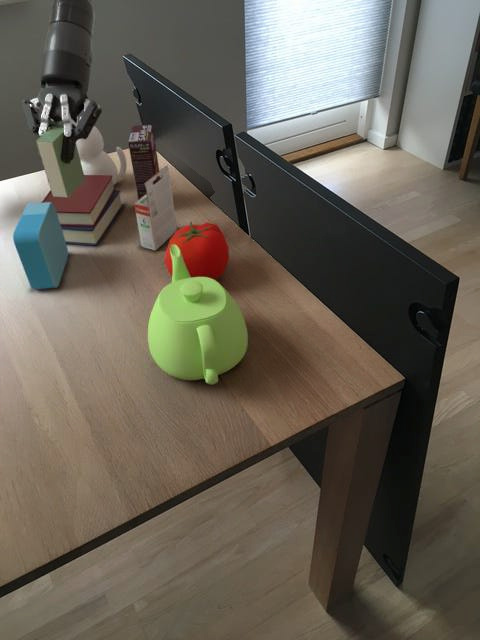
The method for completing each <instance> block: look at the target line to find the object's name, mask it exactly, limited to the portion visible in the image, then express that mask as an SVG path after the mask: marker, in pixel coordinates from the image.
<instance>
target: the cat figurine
mask: <svg viewBox="0 0 480 640" xmlns="http://www.w3.org/2000/svg"><path fill="white" fill-rule="evenodd" d="M81 117H82V116H80V117H79V120H80V119H81ZM76 145H77V149H78V153H79V157H80V161H81V165H82V169H83V173H84V175H112V181H113V186H114V187H115V185H116V184H117V183H120V182H121V181H122V180H123V179H124V178H125V175H126V173H127V166H128V165H127V164H128V163H127V157H126V153H125V152H124V150H123V149H122V148H121V147H120V146H116V148H115V151H116V153H117V156H118V158H119V163H120V168H119V169H118V166H117V164H116V162H115V161H114V160H113V158H112V157H111V156H110V154H108V153H107V152H106V151H105V150H104V147H105V144H104V138H103V135H102V133H101V132H100V130H99V128H97V127H96V126H95V125H94V127H93V129H92V130H91V132H90V134H89V136H88V138H87V139H83V138H82V139H79V140H77V142H76Z"/></svg>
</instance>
